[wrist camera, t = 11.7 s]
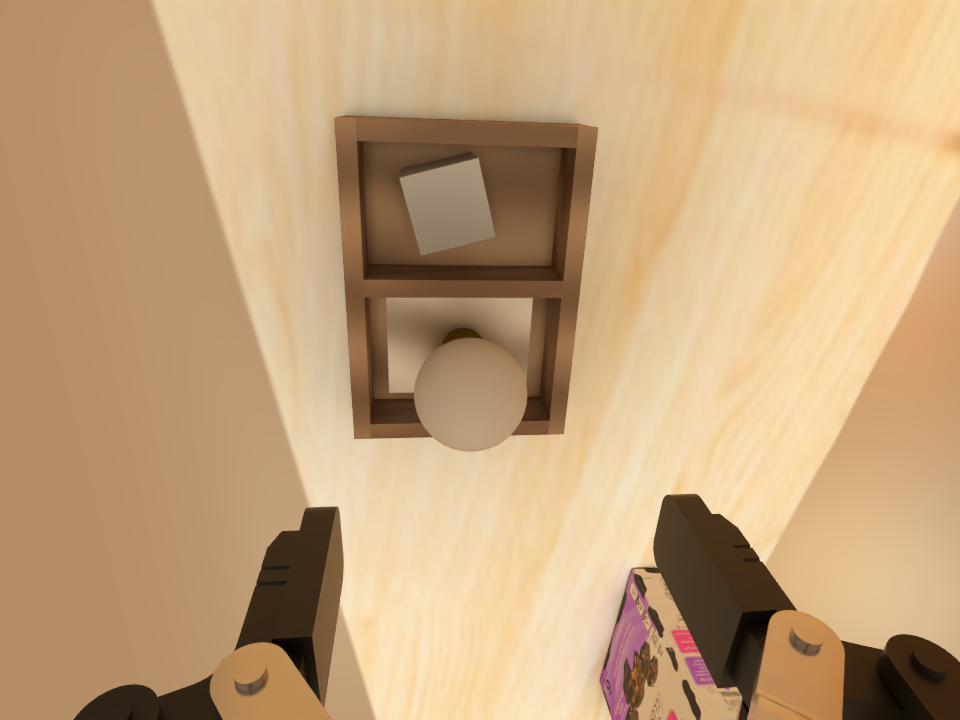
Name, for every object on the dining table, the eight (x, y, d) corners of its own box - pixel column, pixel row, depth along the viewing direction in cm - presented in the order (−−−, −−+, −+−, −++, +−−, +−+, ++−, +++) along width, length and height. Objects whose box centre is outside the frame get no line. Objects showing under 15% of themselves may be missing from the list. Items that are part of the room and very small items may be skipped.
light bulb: (486, 395, 38) (506, 488, 29) (401, 366, 37) (395, 455, 28) (523, 317, 36) (557, 391, 27) (435, 283, 35) (440, 350, 26)
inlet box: (343, 115, 31) (334, 118, 28) (577, 124, 33) (598, 127, 29) (360, 406, 39) (354, 438, 35) (550, 403, 40) (563, 434, 36)
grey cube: (401, 168, 32) (399, 177, 28) (471, 151, 32) (478, 157, 28) (420, 238, 34) (421, 255, 30) (487, 221, 34) (495, 237, 30)
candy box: (629, 565, 47) (728, 781, 32) (697, 566, 48) (823, 777, 33) (596, 680, 53) (668, 910, 38) (657, 680, 54) (750, 904, 39)
